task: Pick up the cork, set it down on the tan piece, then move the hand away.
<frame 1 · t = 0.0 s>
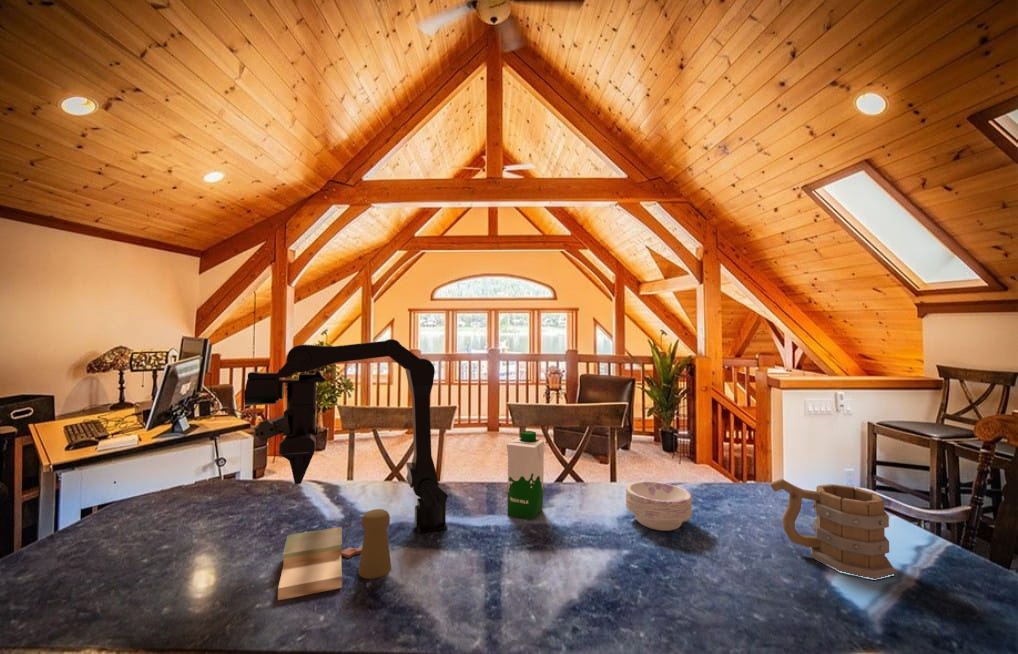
hand: (299, 476, 90), 15 cm above the counter, fingers open, 9 cm apart
milk carton: (524, 513, 108), on the counter
paper bowls: (657, 523, 103), on the counter
tan piece: (312, 570, 80), on the counter
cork: (374, 570, 81), on the counter
tankard: (827, 558, 87), on the counter
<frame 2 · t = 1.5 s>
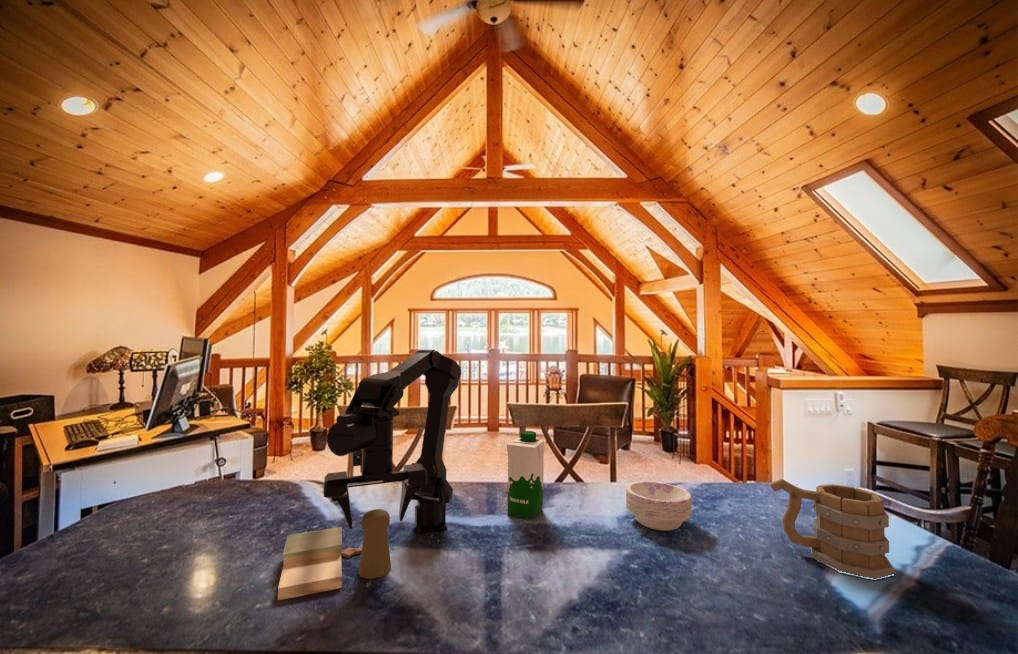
hand: (376, 524, 81), 9 cm above the counter, fingers open, 9 cm apart
nothing on the counter moved.
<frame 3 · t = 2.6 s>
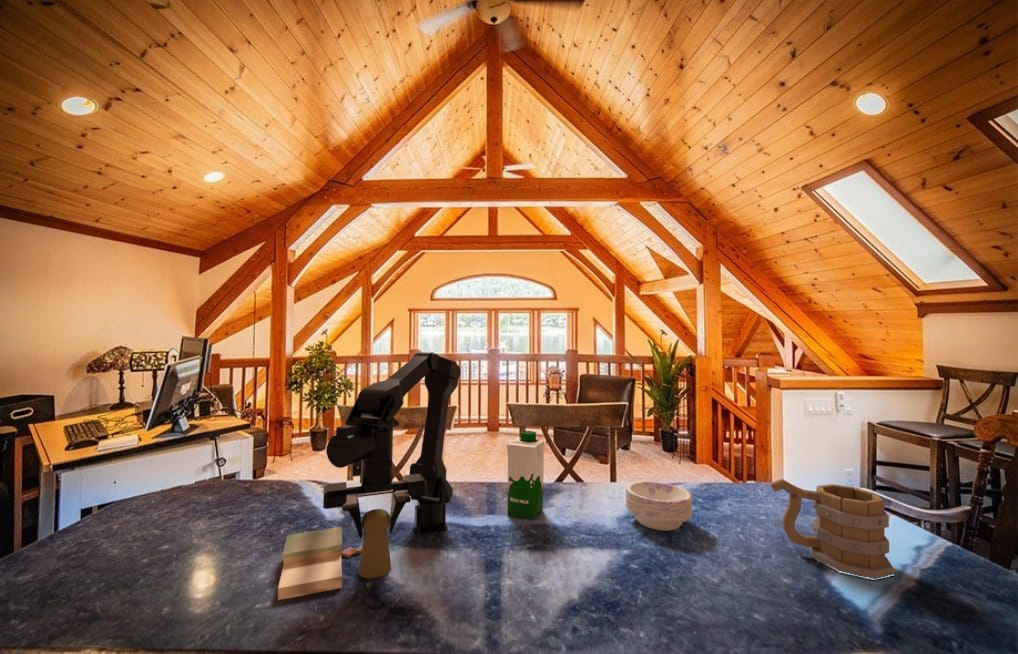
hand: (375, 535, 81), 7 cm above the counter, fingers closed on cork, 5 cm apart
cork: (374, 570, 81), on the counter, touching gripper
everything else where it was.
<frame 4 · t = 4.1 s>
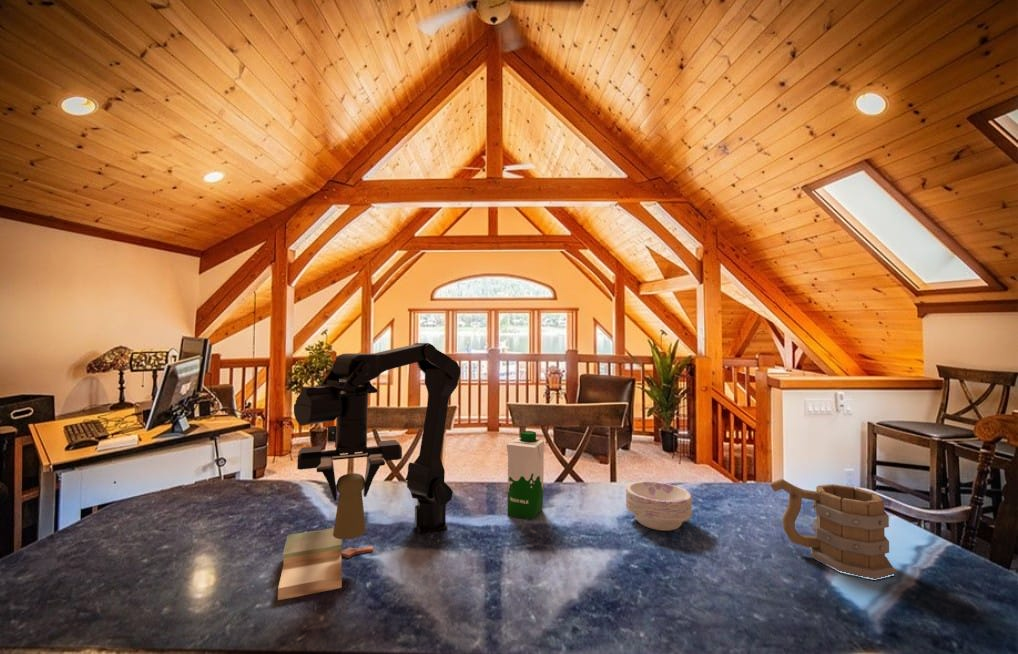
hand: (350, 498, 82), 13 cm above the counter, fingers closed on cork, 5 cm apart
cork: (349, 533, 82), point 6 cm above the counter, touching gripper
everything else where it was.
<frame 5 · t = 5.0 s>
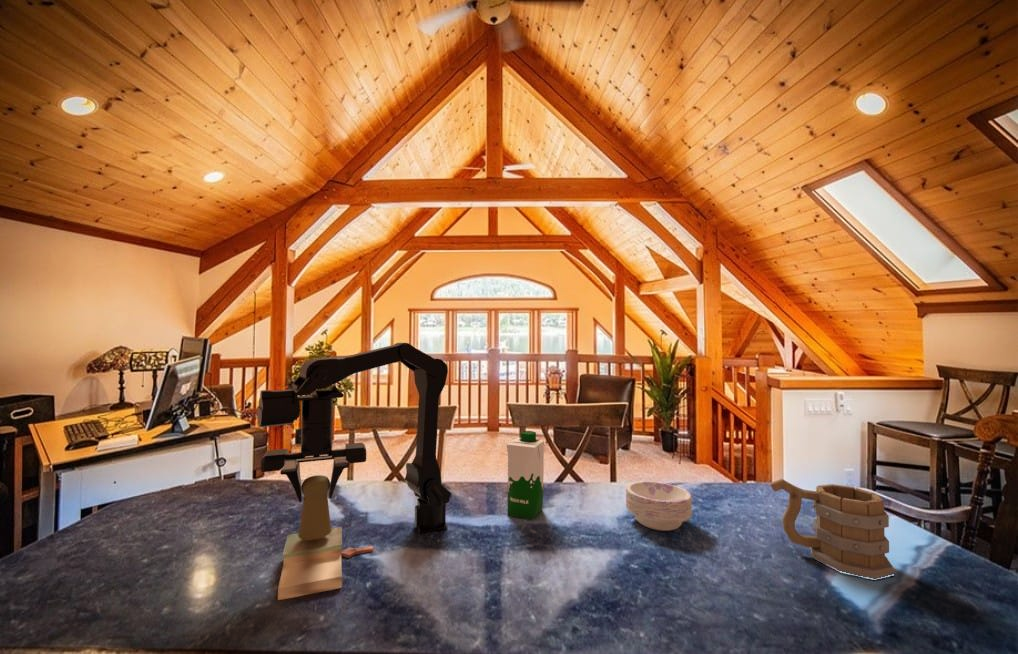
hand: (315, 499, 84), 12 cm above the counter, fingers closed on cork, 5 cm apart
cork: (315, 533, 84), point 5 cm above the counter, touching gripper
everything else where it was.
when the fingers open (12 cm above the counter, at t = 5.7 s): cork drops 1 cm, resting on tan piece.
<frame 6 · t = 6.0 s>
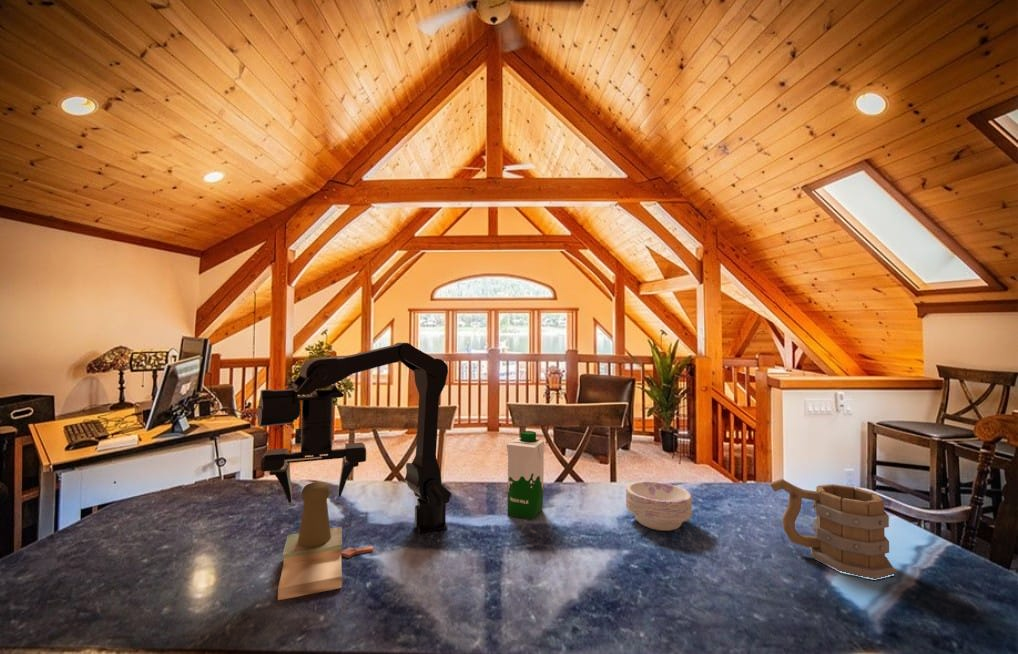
hand: (315, 499, 84), 12 cm above the counter, fingers open, 9 cm apart
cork: (314, 540, 84), point 4 cm above the counter, touching tan piece
everything else where it was.
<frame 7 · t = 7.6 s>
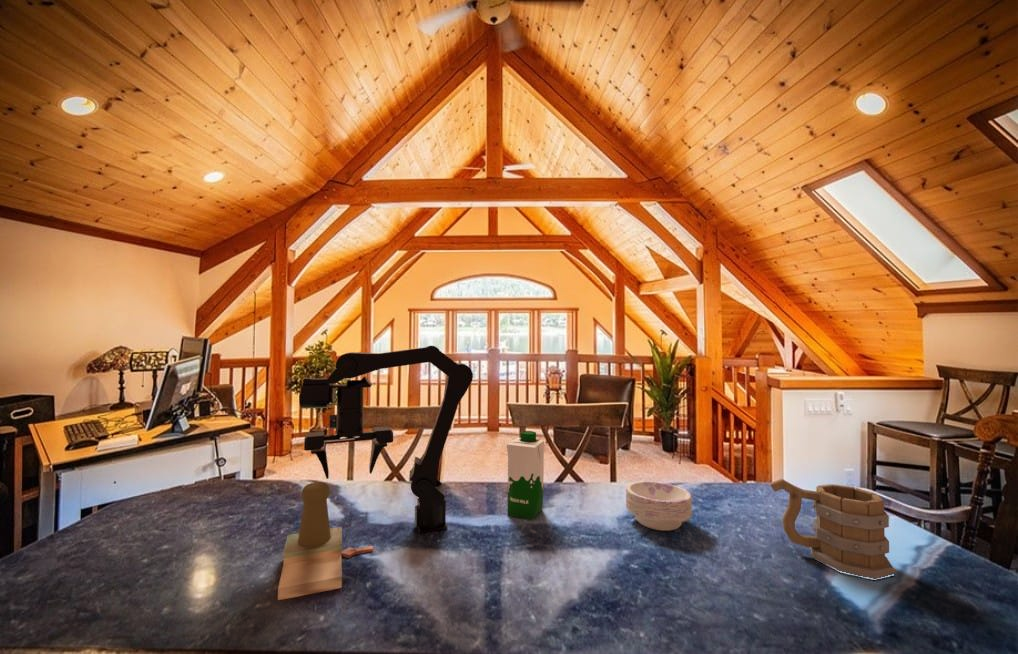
hand: (349, 475, 96), 13 cm above the counter, fingers open, 9 cm apart
nothing on the counter moved.
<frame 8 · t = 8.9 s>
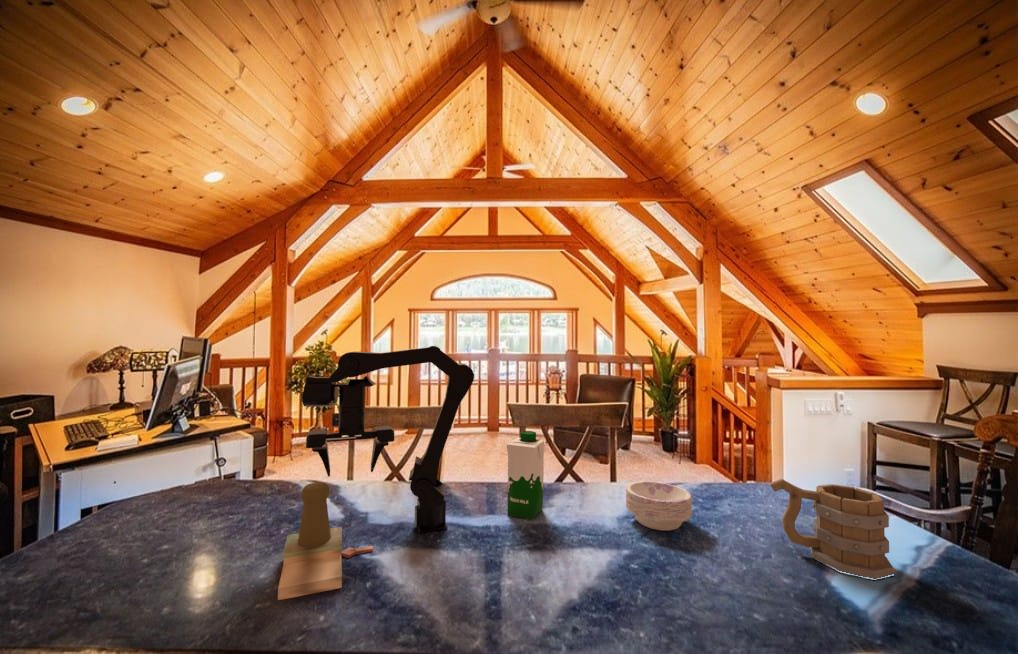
hand: (350, 473, 97), 13 cm above the counter, fingers open, 9 cm apart
nothing on the counter moved.
at the end: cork inside the target area on the tan piece (0.4 cm from its centre), point 3.8 cm above the tan piece's base; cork tilted 0°; the gripper is holding nothing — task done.
